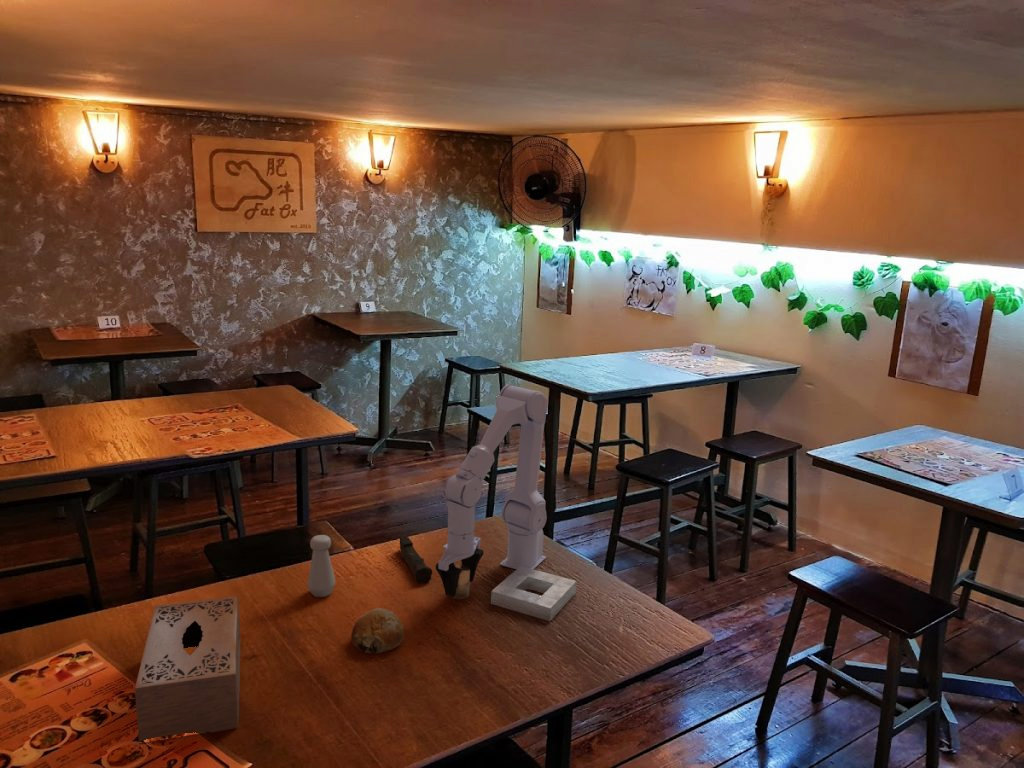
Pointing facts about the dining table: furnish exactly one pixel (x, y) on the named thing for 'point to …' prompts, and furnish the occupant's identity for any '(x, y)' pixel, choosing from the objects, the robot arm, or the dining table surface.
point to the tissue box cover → (190, 669)
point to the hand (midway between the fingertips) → (459, 587)
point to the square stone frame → (520, 600)
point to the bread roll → (377, 631)
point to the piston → (462, 583)
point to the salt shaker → (321, 567)
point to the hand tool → (414, 561)
